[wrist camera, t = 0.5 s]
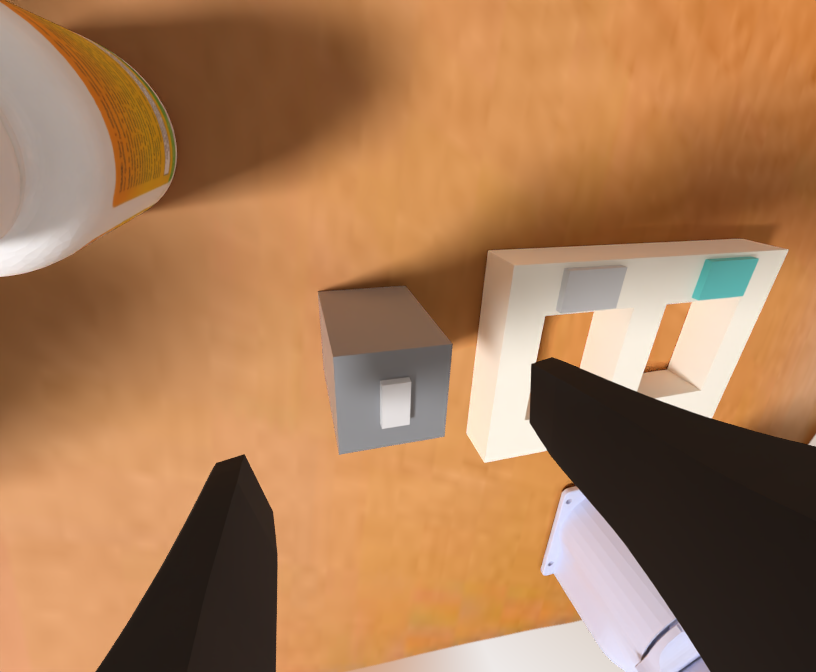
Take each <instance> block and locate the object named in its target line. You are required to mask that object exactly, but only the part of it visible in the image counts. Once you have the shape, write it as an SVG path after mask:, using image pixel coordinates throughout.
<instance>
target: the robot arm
mask: <svg viewBox="0 0 816 672" xmlns="http://www.w3.org/2000/svg"><path fill="white" fill-rule="evenodd" d="M529 423H530V424H531V426H532V428H533V429H534V431H535V432H536V434H537V436H538V437H539V439H540V440H541V442H542V443H543V445H544V446H545V448H546V449H547V451H548V452H549V454H550V455H551V457H552V458H553V459H554V460H555V461H556V463H557V464H558V465H559V466H560V467H561V469H562V470H563V471H564V472H565V473H566V475H567V476H568V477H569V478H570V479H571V481H572V482H573V483H574V484H575V485H576V486H574V487H570V488H567V489H565V490H564V491H563V492H562V494H561V498H560V501H559V505H558V509H557V512H556V516H555V519H554V523H553V527H552V530H551V534H550V537H549V541H548V545H547V548H546V552H545V555H544V559H543V563H542V566H541V572H542V574H543V575H550V574H554V575H555V576H556V578H557V580H558V581H559V583H560V585H561V586H562V588H563V589H564V591H565V593H566V594H567V596H568V598H569V599H570V601H571V602H572V604H573V606H574V607H575V609H576V611H577V612H578V614H579V615H580V617H581V619H582V620H583V622H584V623H585V625H586V627H587V628H588V630H589V632H590V633H591V635H592V636H593V638H594V640H595V641H596V643H597V644H598V646H599V647H600V649H601V650H602V651H603V653H604V654H605V655H606V656H607V657H608V658H609V659H610V660H611V661H612V662H613V663H614V664H616V665H617V666H618V667H619V668H621V669H622V670H624V671H625V672H816V447H815V446H811V445H807V444H803V443H798V442H794V441H790V440H786V439H782V438H778V437H774V436H770V435H766V434H762V433H759V432H755V431H752V430H748V429H745V428H741V427H738V426H735V425H731V424H728V423H724V422H721V421H718V420H714V419H711V418H708V417H705V416H702V415H699V414H696V413H693V412H690V411H688V410H685V409H682V408H679V407H676V406H674V405H671V404H668V403H665V402H662V401H660V400H657V399H654V398H652V397H649V396H647V395H644V394H642V393H639V392H636V391H634V390H631V389H629V388H627V387H624V386H622V385H619V384H617V383H614V382H612V381H609V380H607V379H605V378H602V377H600V376H598V375H595V374H593V373H590V372H588V371H586V370H583V369H581V368H578V367H576V366H574V365H571V364H569V363H566V362H563V361H561V360H558V359H555V358H553V357H551V358H548V359H545V360H542V361H539V362H536V363H532V364H531V386H530V421H529ZM276 623H277V546H276V535H275V526H274V517H273V511H272V509H271V507H270V505H269V503H268V501H267V499H266V497H265V495H264V493H263V491H262V489H261V487H260V485H259V483H258V481H257V479H256V477H255V475H254V473H253V471H252V469H251V467H250V465H249V462H248V460H247V458H246V456H245V454H244V455H241V456H238V457H234V458H231V459H228V460H225V461H222V462H218V463H216V464H215V466H214V468H213V469H212V471H211V473H210V475H209V477H208V479H207V481H206V483H205V485H204V487H203V489H202V491H201V493H200V495H199V497H198V499H197V501H196V503H195V505H194V507H193V509H192V511H191V513H190V514H189V516H188V518H187V520H186V522H185V524H184V526H183V528H182V530H181V531H180V533H179V535H178V537H177V539H176V541H175V542H174V544H173V546H172V548H171V550H170V552H169V554H168V555H167V557H166V559H165V561H164V563H163V564H162V566H161V568H160V570H159V571H158V573H157V575H156V576H155V578H154V580H153V582H152V583H151V585H150V587H149V588H148V590H147V592H146V593H145V595H144V597H143V598H142V600H141V602H140V603H139V605H138V607H137V608H136V610H135V612H134V613H133V615H132V617H131V618H130V620H129V621H128V623H127V625H126V626H125V628H124V629H123V631H122V632H121V634H120V636H119V637H118V639H117V640H116V642H115V643H114V645H113V646H112V648H111V650H110V651H109V653H108V654H107V656H106V657H105V659H104V660H103V662H102V663H101V665H100V666H99V667H98V669H97V670H96V672H276Z"/></svg>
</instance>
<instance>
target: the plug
mask: <svg viewBox="0 0 816 672" xmlns="http://www.w3.org/2000/svg"><path fill="white" fill-rule="evenodd" d="M318 300H319V313H320V326H321V340H322V353H323V366H324V373H325V379H326V384H327V390H328V396H329V401H330V407H331V412H332V418H333V423H334V429H335V434H336V440H337V445H338V451H339V455H340V454H345V453H351V452H357V451H363V450H369V449H375V448H380V447H386V446H392V445H398V444H404V443H410V442H415V441H421V440H427V439H433V438H439V437H444V435H445V424H446V412H447V401H448V390H449V378H450V367H451V356H452V343H451V341H450V340H449V339H448V338H447V337H446V335H445V334H444V333H443V332H442V330H441V329H440V328H439V327H438V325H437V324H436V323H435V322H434V320H433V319H432V318H431V317H430V315H429V314H428V313H427V312H426V310H425V309H424V308H423V307H422V306H421V304H420V303H419V302H418V301H417V299H416V298H415V297H414V296H413V294H412V293H411V292H410V291H409V289H408V288H407V287H406V286H392V287H377V288H362V289H347V290H332V291H318Z"/></svg>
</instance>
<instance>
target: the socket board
mask: <svg viewBox="0 0 816 672" xmlns="http://www.w3.org/2000/svg"><path fill="white" fill-rule="evenodd" d="M788 250H789V249H784V248H780V247H776V246H772V245H767V244H763V243H759V242H755V241H750V240H746V239H721V240H699V241H678V242H656V243H635V244H613V245H592V246H570V247H549V248H527V249H506V250H488V254H487V263H486V271H485V280H484V288H483V296H482V305H481V313H480V322H479V330H478V339H477V347H476V355H475V364H474V372H473V381H472V389H471V397H470V406H469V414H468V423H467V431H466V433H467V435H468V437H469V438H470V440H471V442H472V443H473V445H474V446H475V448H476V450H477V451H478V453H479V455H480V456H481V458H482V460H483V461H484V463H486V462H491V461H496V460H501V459H507V458H512V457H517V456H522V455H527V454H532V453H538V452H543V451H547V449H546V448H545V446H544V445H543V443H542V442H541V440H540V439H539V437H538V436H537V434H536V432H535V431H534V429H533V428H532V426H531V424H530V423H529V421H530V386H531V364H532V363H536V360H537V355H538V350H539V345H540V340H541V335H542V330H543V325H544V320H545V316H551V315H561V314H572V313H582V312H593V311H594V314H593V318H592V322H591V326H590V330H589V334H588V337H587V341H586V345H585V349H584V353H583V357H582V361H581V365H580V368H581V369H583V370H586V371H588V372H590V373H593V374H595V375H598V376H600V377H602V378H605V379H607V380H609V381H612V382H614V383H617V384H619V385H622V386H624V387H627V388H629V389H631V390H634V391H636V392H639V393H642V394H644V395H647V396H649V397H652V398H654V399H657V400H660V401H662V402H665V403H668V404H671V405H674V406H676V407H679V408H682V409H685V410H688V411H690V412H693V413H696V414H699V415H702V416H705V417H708V418H711V419H712V417H713V415H714V412H715V410H716V408H717V406H718V404H719V401H720V399H721V397H722V395H723V393H724V390H725V388H726V386H727V384H728V382H729V380H730V377H731V375H732V373H733V371H734V369H735V366H736V364H737V362H738V360H739V358H740V355H741V353H742V351H743V349H744V347H745V344H746V342H747V340H748V338H749V336H750V334H751V331H752V329H753V327H754V325H755V323H756V320H757V318H758V316H759V314H760V312H761V309H762V307H763V305H764V303H765V301H766V299H767V296H768V294H769V292H770V290H771V288H772V285H773V283H774V281H775V279H776V277H777V274H778V272H779V270H780V268H781V266H782V263H783V261H784V259H785V257H786V255H787V253H788ZM686 302H692V303H691V306H690V309H689V312H688V314H687V317H686V320H685V322H684V325H683V328H682V330H681V333H680V336H679V339H678V341H677V344H676V347H675V349H674V352H673V355H672V357H671V360H670V363H669V366H668V368H667V369H666V370H659V371H653V372H646V373H643V372H644V369H645V366H646V363H647V360H648V357H649V354H650V352H651V349H652V346H653V343H654V340H655V337H656V334H657V331H658V328H659V325H660V322H661V319H662V316H663V313H664V310H665V307H666V305H667V304H676V303H686Z"/></svg>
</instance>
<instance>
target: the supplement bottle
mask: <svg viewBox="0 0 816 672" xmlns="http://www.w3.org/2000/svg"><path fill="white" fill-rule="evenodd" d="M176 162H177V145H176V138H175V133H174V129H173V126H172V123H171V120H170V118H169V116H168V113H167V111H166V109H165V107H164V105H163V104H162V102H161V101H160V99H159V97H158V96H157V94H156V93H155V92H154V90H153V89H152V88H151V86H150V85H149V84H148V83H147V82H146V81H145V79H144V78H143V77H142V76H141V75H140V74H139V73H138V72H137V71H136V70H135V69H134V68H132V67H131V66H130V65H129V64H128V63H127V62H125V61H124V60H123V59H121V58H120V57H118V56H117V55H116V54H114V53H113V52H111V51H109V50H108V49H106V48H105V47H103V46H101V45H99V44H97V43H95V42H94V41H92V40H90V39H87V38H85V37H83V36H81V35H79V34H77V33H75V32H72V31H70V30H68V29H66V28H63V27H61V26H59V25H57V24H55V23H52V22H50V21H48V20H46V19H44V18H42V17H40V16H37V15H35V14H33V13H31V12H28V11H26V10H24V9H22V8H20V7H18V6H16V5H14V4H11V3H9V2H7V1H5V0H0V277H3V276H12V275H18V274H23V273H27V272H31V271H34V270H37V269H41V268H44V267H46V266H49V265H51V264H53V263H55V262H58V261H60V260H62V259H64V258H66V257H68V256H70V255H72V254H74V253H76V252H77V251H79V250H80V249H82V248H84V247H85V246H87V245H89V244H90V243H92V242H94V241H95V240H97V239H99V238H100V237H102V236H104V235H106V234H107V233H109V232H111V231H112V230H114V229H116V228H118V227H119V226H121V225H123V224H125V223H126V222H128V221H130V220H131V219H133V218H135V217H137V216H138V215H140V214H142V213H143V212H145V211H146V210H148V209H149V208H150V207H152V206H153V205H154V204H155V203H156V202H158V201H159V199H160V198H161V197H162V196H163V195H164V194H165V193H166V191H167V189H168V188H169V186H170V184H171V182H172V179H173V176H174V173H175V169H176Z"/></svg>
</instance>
